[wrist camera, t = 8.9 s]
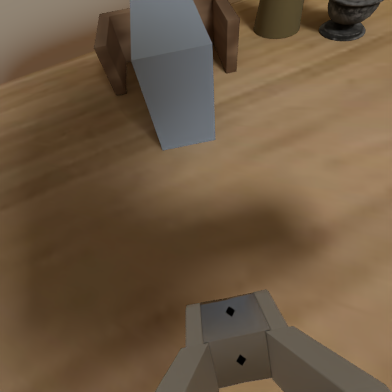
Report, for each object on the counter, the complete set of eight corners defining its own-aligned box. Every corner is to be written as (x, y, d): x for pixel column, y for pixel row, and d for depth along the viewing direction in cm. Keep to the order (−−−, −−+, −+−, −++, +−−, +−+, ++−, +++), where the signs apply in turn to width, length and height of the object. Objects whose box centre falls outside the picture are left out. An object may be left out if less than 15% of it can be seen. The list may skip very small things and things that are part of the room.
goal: (116, 95, 24) (94, 48, 20) (117, 59, 29) (99, 13, 24) (236, 71, 24) (239, 18, 20) (220, 38, 29) (220, -11, 24)
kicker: (162, 150, 19) (131, 60, 13) (155, 88, 24) (129, -1, 18) (215, 140, 19) (212, 44, 13) (196, 80, 24) (187, -12, 18)
